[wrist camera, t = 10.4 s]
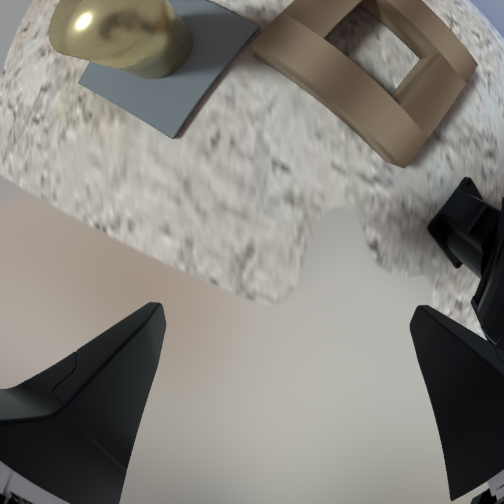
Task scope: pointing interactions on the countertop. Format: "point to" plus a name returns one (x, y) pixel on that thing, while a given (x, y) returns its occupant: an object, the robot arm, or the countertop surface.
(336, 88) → the housing
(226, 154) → the countertop surface
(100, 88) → the mat
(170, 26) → the end plug
